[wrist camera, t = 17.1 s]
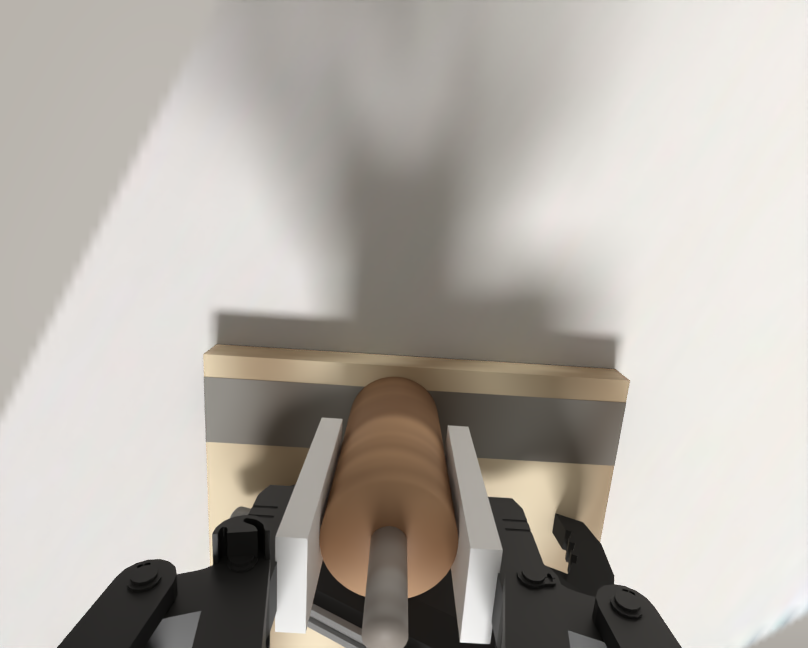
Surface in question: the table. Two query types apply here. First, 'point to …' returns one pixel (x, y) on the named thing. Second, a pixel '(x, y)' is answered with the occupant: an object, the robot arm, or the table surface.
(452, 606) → the gun
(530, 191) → the table surface
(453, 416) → the board
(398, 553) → the awl
